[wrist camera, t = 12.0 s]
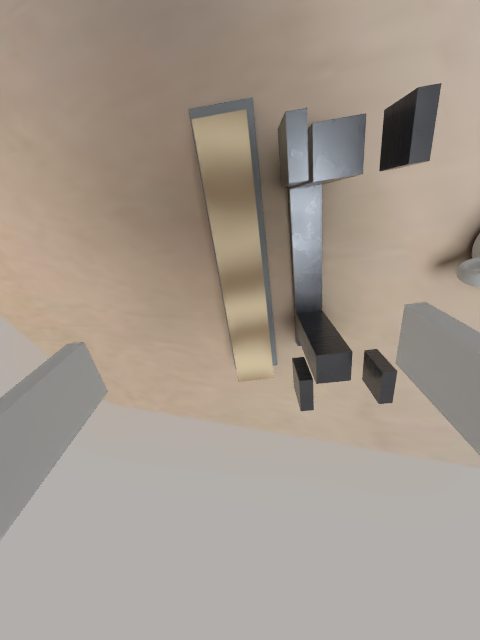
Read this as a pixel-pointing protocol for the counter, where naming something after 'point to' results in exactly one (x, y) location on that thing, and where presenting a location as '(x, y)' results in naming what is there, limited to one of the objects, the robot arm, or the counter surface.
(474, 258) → the cup
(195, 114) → the grey base plate
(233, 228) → the rail
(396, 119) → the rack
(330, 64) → the counter surface
